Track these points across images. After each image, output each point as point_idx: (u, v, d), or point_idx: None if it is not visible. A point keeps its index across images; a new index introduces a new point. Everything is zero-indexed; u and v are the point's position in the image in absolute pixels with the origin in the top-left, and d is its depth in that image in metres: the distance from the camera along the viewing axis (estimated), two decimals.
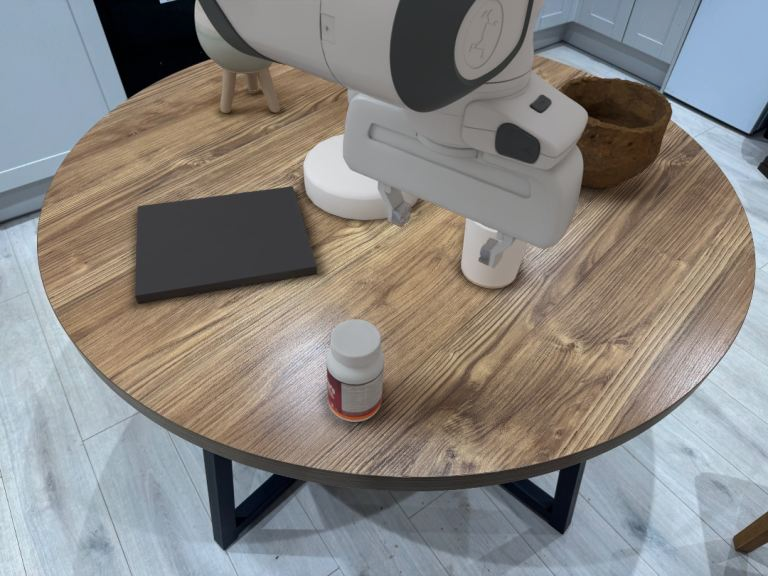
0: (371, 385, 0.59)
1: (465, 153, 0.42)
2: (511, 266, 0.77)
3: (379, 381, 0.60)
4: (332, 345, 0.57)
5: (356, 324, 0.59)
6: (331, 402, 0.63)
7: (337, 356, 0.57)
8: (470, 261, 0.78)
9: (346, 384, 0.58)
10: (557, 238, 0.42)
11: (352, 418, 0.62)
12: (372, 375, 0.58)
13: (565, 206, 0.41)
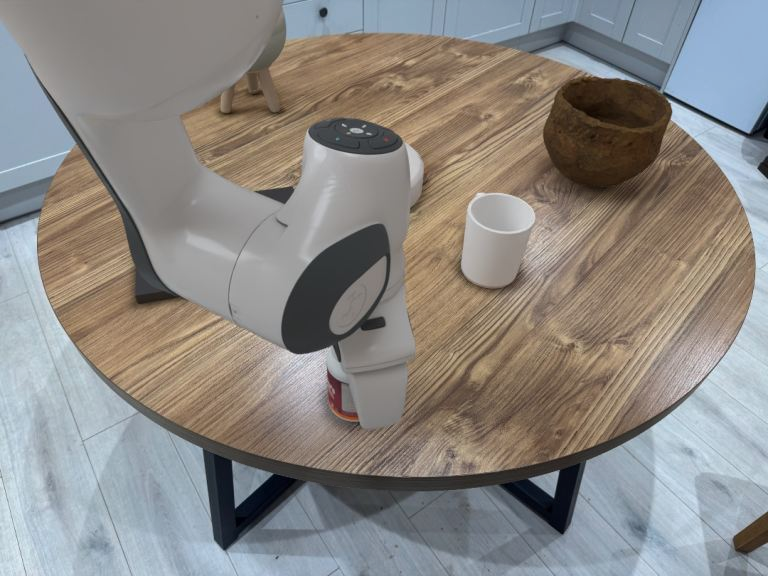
0: None
1: None
2: (511, 266, 0.77)
3: None
4: None
5: None
6: (331, 402, 0.63)
7: None
8: (470, 261, 0.78)
9: (346, 384, 0.58)
10: (364, 426, 0.51)
11: (352, 418, 0.62)
12: None
13: (368, 406, 0.49)
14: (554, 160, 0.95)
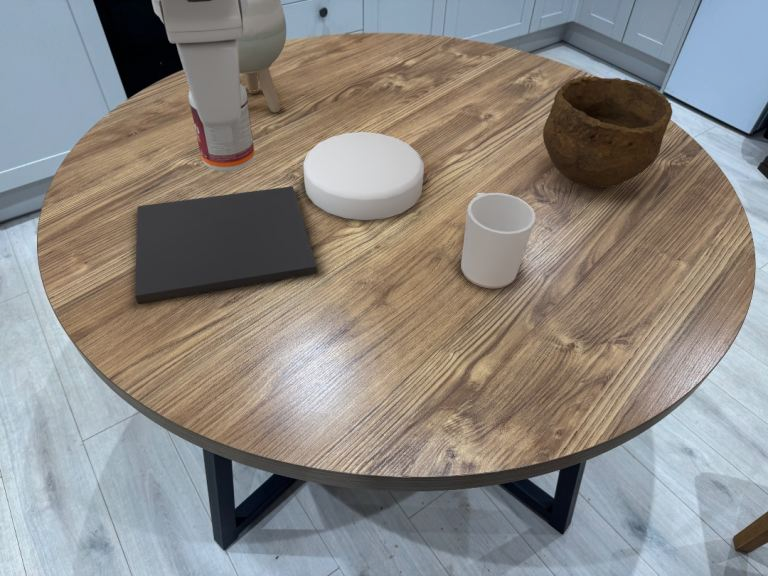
0: None
1: None
2: (511, 266, 0.77)
3: (241, 118, 0.62)
4: None
5: None
6: (200, 150, 0.64)
7: None
8: (470, 261, 0.78)
9: None
10: (201, 115, 0.52)
11: (220, 164, 0.64)
12: None
13: (199, 86, 0.51)
14: (554, 160, 0.95)
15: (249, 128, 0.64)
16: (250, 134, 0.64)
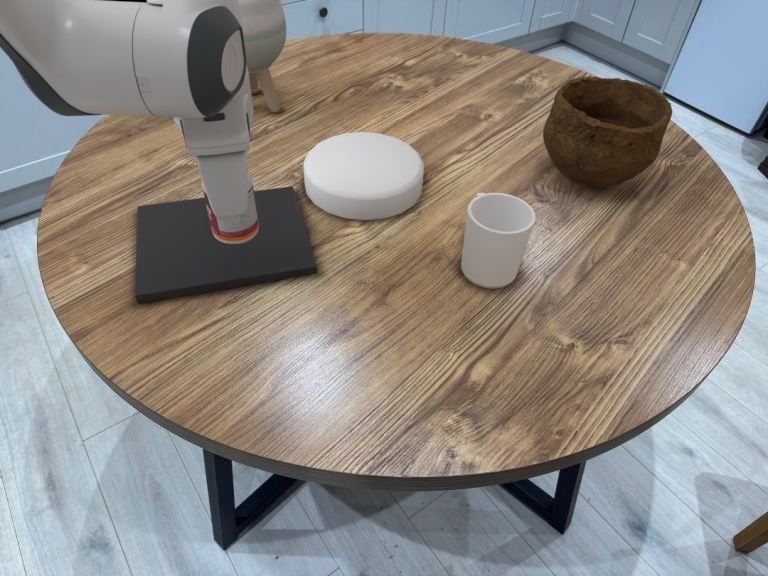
0: None
1: None
2: (511, 266, 0.77)
3: None
4: None
5: None
6: (211, 226, 0.74)
7: None
8: (470, 261, 0.78)
9: None
10: (214, 211, 0.61)
11: (229, 239, 0.73)
12: None
13: (213, 189, 0.60)
14: (554, 160, 0.95)
15: (254, 208, 0.73)
16: (255, 212, 0.74)
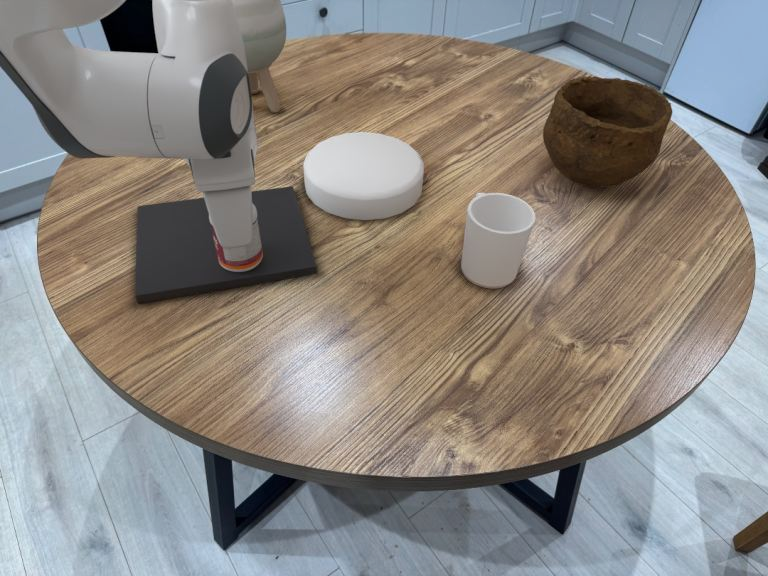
0: None
1: None
2: (511, 266, 0.77)
3: None
4: None
5: None
6: (218, 255, 0.77)
7: None
8: (470, 261, 0.78)
9: None
10: (221, 242, 0.65)
11: (234, 268, 0.77)
12: None
13: (220, 222, 0.63)
14: (554, 160, 0.95)
15: (258, 238, 0.76)
16: (259, 242, 0.77)
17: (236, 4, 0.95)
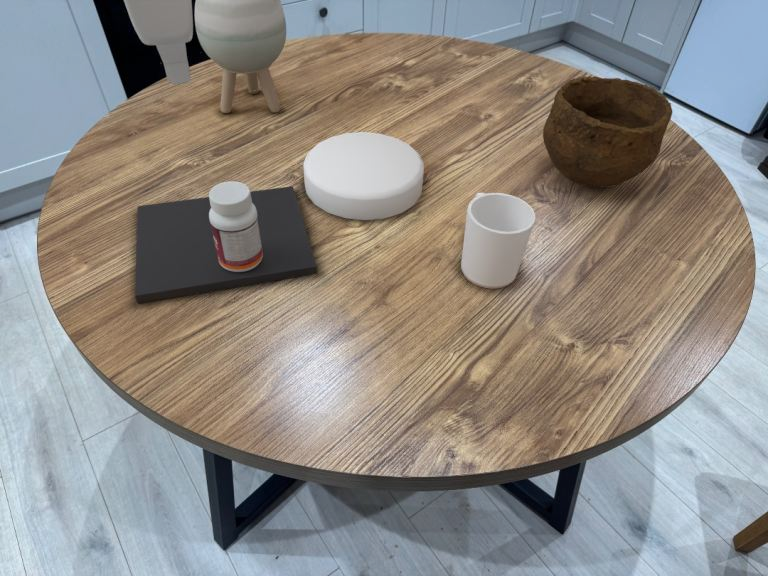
0: (244, 233, 0.73)
1: None
2: (511, 266, 0.77)
3: (252, 232, 0.74)
4: (209, 197, 0.71)
5: (232, 184, 0.73)
6: (218, 255, 0.77)
7: (213, 206, 0.71)
8: (470, 261, 0.78)
9: (222, 231, 0.72)
10: (136, 25, 0.38)
11: (234, 268, 0.77)
12: (243, 223, 0.72)
13: None
14: (554, 160, 0.95)
15: (259, 238, 0.76)
16: (259, 242, 0.77)
17: (236, 4, 0.95)
